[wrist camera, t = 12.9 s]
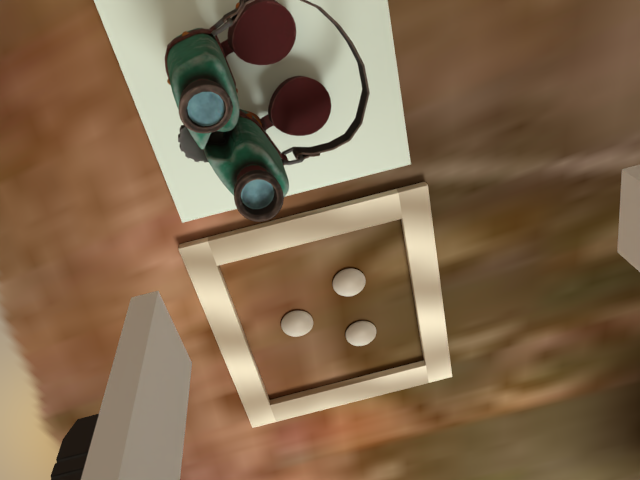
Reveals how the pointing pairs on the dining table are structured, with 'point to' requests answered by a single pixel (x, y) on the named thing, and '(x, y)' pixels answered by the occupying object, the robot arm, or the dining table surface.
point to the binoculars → (244, 126)
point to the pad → (267, 90)
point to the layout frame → (318, 225)
